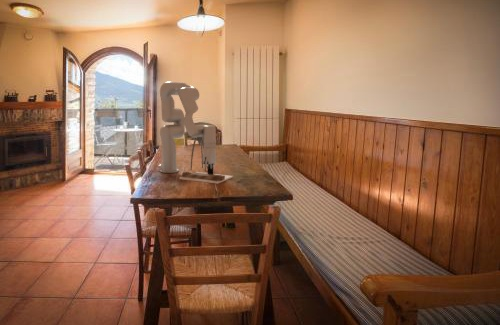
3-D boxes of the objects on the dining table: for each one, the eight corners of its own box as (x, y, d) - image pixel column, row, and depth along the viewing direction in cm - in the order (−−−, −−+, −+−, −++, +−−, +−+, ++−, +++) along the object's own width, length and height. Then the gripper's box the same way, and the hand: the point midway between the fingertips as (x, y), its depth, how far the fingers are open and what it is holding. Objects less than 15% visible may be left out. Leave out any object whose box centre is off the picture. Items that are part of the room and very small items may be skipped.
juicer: (205, 171, 255) (205, 127, 250) (190, 170, 257) (190, 127, 252) (210, 168, 265) (210, 126, 260) (195, 167, 267) (194, 126, 262)
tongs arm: (191, 176, 231) (191, 173, 231) (194, 175, 234) (194, 172, 233) (222, 179, 222) (222, 176, 222) (224, 178, 225) (224, 175, 224)
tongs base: (182, 176, 230) (182, 172, 229) (185, 175, 233) (185, 171, 232) (219, 181, 219) (219, 176, 219) (222, 180, 222) (222, 175, 221)
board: (179, 179, 228) (179, 177, 228) (196, 173, 246) (196, 172, 246) (217, 183, 217) (217, 182, 217) (233, 177, 235) (233, 175, 235)
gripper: (210, 144, 236) (211, 172, 238) (198, 146, 222) (198, 176, 225) (221, 144, 233) (221, 173, 235) (208, 146, 219) (209, 177, 222)
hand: (210, 174), depth 230 cm, fingers closed
